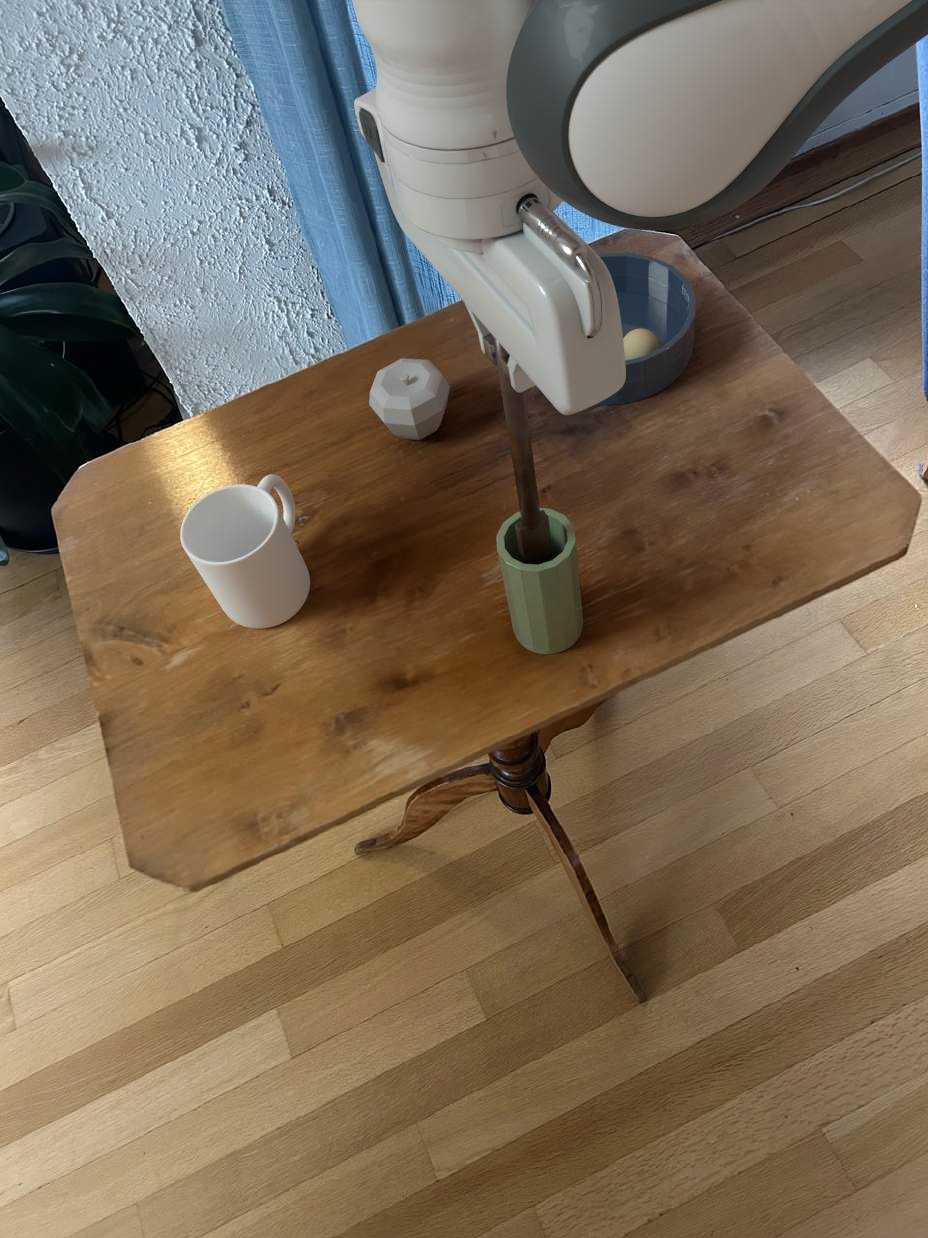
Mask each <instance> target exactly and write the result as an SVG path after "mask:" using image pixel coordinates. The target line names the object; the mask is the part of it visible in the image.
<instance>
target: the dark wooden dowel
mask: <svg viewBox="0 0 928 1238" xmlns="http://www.w3.org/2000/svg"><path fill="white" fill-rule="evenodd" d="M493 340H494V346H495V353H496V359H497V365H496V366H497V372H498V377H499V384H500V385H499V386H500V392H501V397H502V404H503V409H504V416H505V417H504V418H505V422H506V423H505V424H506V429H507V435H508V443H509V449H510V456H511V460H512V468H513V469H512V470H513V474H514V481H515V487H516V494H517V500H518V505H519V512H520V514H521V520H522V521H520V522H518V523H516V524H515V530H516V536H517V542H518V548H519V554H520V560H521V563H523V564H535V565H539V564H541V563H543V562H545V561H546V560H548V559H550V558H552V557H553V552H552V543H551V535H550V527H549V518H548V515H547V514H546V513H545V511H544V510H541V511H540V508H541V506H540V500H539V499H540V498H539V492H538V483H537V477H536V476H537V475H536V468H535V460H534V453H533V445H532V437H531V430H530V422H529V415H528V406H527V399H526V397H527V396H526V390H525V391H523V392H517V391H516V390H515V389H514V388H513V387H512V386H511V384H510V383H509V382H508V381H507V379H506V378H505V377H504V375H503V372H504V370H503V368H502V363H501V358H503V357H505V356H507V355H509V354H508V352H507V351H506V350H505V349H504V348H503V347H502V345H501V344H500V343H499V342H498V341H497V340H496V338H495V337H494V336H493Z"/></svg>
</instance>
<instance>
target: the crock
mask: <svg viewBox="0 0 928 1238" xmlns="http://www.w3.org/2000/svg"><path fill="white" fill-rule="evenodd" d="M541 510H544V511H545V513H546V514H547V515H548V518H549V527H550V535H551V543H552V552H553V557H552V558H550V559H548V560H546V561H545V562H543V563H541V564H539V565H535V564H523V563H521V560H520V554H519V548H518V542H517V536H516V530H515V524H516V523H518V522H520V521H522V520H521V514H520V511H517V512H515V513H514V514H512V515H511V516H510V517H508V518H507V519H506V520H505V521H503V523H502V524H501V526H500V528H499V529H498V532H497V534H496V537H495V538H496V539H495V540H496V551H497V557H498V561H499V566H500V570H501V571H500V572H501V576H502V581H503V586H504V591H505V597H506V600H507V601H506V602H507V606H508V610H509V616H510V622H511V626H512V631H513V633H514V636H515V638H516V640H517V641H518V643H519V644H520V645H521V646H522V647H523V648H525V649H526V650H528V651H529V652H532V653H535V654H537V655H538V654H539V655H555V654H559V653H562V652H564V651H567V650H568V649H570V648H571V647H572V646H573V645H574V644H576V642H577V641H578V640H579V639H580V636H581V634H582V633H583V628H584V615H583V605H582V604H583V603H582V597H581V596H582V594H581V592H582V591H581V583H580V581H581V580H580V571H579V561H578V549H577V539H576V529H575V526H574V525H573V523H572V522H571V521H570V520H569V518H568V517H567V516H566V515H565V514H563V513H561V512H559V511H557V510H555V509H552V508H549V507H540V511H541Z"/></svg>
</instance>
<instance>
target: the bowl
mask: <svg viewBox="0 0 928 1238" xmlns="http://www.w3.org/2000/svg"><path fill="white" fill-rule="evenodd" d="M597 254H598V256H599V257H600V258H601V259H602V261H603V262H604V264H605V265H606V267H607V269H608V271H609V273H610V275H611V278H612V280H613V283H614V287H615V290H616V295H617V299H618V305H619V311H620V318H621V325H622V334H623V339H624V337H625V336H626V335H627V334H628V333H629V332H630V331H632V330H635V329H640V328H641V329H647V330H649V331H651V332H652V333H653V334H654V335H655V336H656V338H657V340H658V345H659V349H657V350H655V351H653V352H651V353H649V354H647V355H645V356H643V357H638V358H634V359H630V360H626V361H625V365H626V379H625V383H624V385H623V386H622V388H621V389H620V390H618V391H617V392H616V393H615V394H613V395H612V396H610V397H608V398H607V399H605V400H603V401H601V402H600V403H598V404H596V405H595V406H618V405H626V404H631V403H634V402H638V401H641V400H644V399H647V398H650V397H652V396H654V395H656V394H658V393H660V392H662V391H663V390H665V389H666V388H667V387H669V386H670V385H672V384H673V383H674V382H675V381H676V380H677V379H678V378H679V377H681V375H682V374H683V372H685V370H686V369H687V366H688V365H689V363H690V360H691V359H692V355H693V351H694V345H695V344H694V343H695V328H696V307H697V296H696V294H695V291H694V289H693V287H692V285H691V283H690V281H689V279H688V278H687V277H686V276H685V275H684V274H682V273H681V272H680V271H679V270H678V269H677V268H676V267H674V265H672V264H669V263H668V262H665V261H662V260H661V259H658V258H657V257H654V256H651V255H645V254H639V253H634V252H629V251H628V252H627V251H623V252H622V251H620V252H600V253H597Z"/></svg>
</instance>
